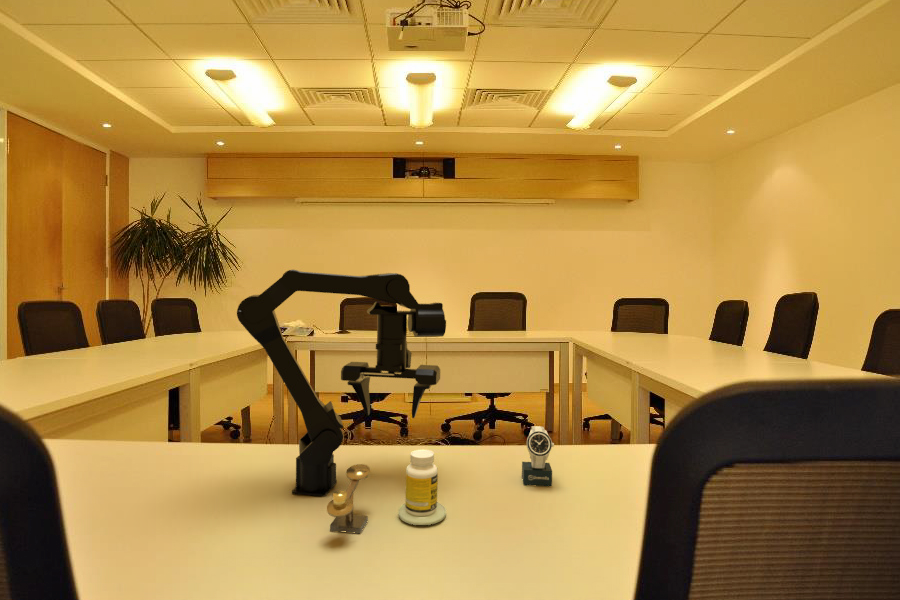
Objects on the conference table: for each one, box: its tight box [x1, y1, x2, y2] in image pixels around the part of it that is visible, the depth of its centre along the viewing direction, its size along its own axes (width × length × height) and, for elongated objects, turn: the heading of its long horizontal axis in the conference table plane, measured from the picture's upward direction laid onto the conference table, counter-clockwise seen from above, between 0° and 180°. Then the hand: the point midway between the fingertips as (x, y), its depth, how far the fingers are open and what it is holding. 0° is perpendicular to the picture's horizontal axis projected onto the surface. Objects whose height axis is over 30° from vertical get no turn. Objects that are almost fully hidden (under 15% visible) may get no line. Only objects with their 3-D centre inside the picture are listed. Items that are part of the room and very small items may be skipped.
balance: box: [326, 463, 371, 534], centre depth 82 cm, size 5×13×8 cm, turn 173°
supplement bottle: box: [405, 449, 439, 516], centre depth 86 cm, size 5×5×10 cm
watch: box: [521, 425, 555, 487], centre depth 101 cm, size 6×8×11 cm
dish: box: [398, 501, 447, 526], centre depth 86 cm, size 8×8×1 cm
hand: (390, 416), depth 99 cm, fingers open, 9 cm apart
